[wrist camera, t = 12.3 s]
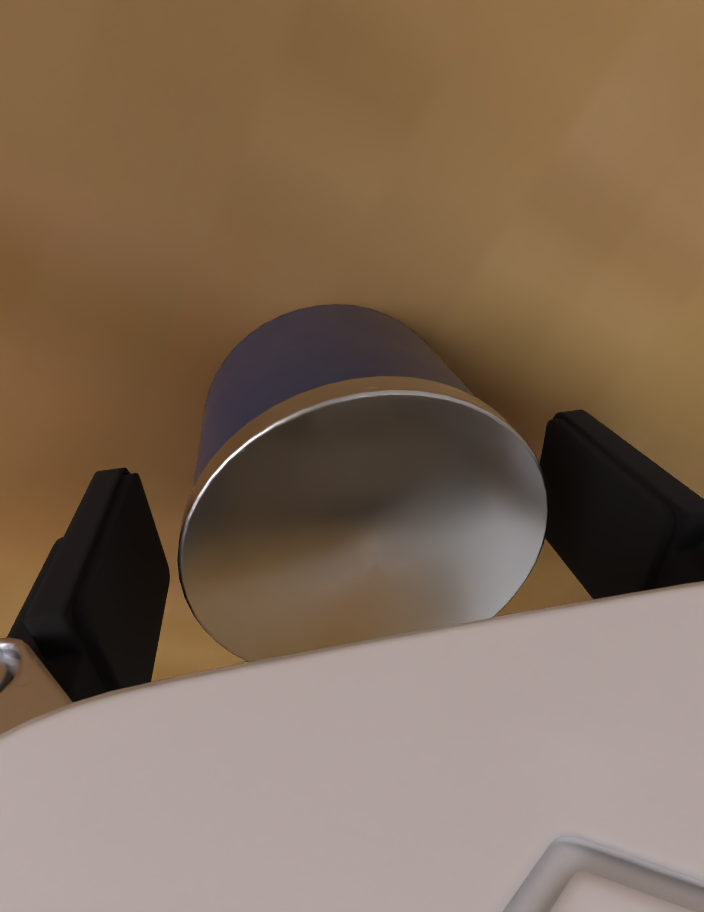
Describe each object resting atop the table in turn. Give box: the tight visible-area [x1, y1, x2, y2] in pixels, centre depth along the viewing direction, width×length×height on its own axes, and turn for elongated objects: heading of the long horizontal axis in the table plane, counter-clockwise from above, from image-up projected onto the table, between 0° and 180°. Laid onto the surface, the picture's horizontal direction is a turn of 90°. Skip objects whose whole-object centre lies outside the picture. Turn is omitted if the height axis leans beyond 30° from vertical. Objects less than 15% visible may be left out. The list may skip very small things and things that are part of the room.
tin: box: [178, 305, 549, 662], centre depth 11 cm, size 7×7×5 cm
